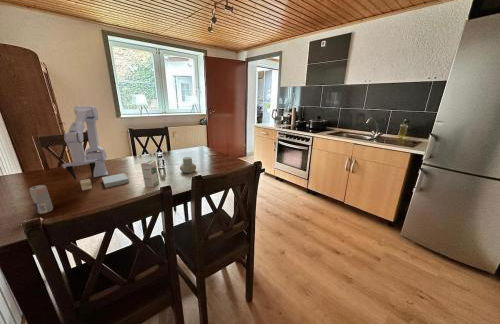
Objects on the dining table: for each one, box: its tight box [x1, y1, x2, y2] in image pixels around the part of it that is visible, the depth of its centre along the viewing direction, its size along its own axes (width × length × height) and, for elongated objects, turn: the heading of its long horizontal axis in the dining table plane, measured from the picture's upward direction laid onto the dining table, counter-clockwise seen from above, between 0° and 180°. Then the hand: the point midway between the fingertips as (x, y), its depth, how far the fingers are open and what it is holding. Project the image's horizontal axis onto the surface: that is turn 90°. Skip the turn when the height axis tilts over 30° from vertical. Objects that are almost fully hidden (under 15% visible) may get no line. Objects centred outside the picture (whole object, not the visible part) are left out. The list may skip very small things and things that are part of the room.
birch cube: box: [79, 178, 93, 191], centre depth 115 cm, size 4×4×4 cm
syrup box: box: [140, 159, 160, 188], centre depth 119 cm, size 6×6×14 cm
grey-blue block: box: [101, 173, 130, 189], centre depth 124 cm, size 12×12×3 cm
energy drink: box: [29, 184, 54, 215], centre depth 91 cm, size 5×5×12 cm
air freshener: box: [179, 156, 197, 174], centre depth 141 cm, size 11×8×10 cm
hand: (84, 177), depth 114 cm, fingers open, 7 cm apart
